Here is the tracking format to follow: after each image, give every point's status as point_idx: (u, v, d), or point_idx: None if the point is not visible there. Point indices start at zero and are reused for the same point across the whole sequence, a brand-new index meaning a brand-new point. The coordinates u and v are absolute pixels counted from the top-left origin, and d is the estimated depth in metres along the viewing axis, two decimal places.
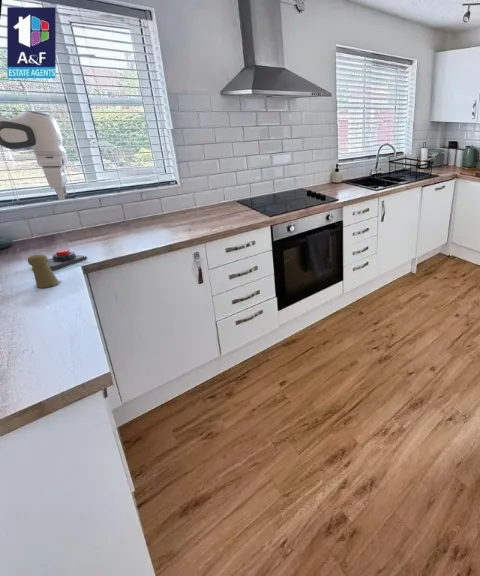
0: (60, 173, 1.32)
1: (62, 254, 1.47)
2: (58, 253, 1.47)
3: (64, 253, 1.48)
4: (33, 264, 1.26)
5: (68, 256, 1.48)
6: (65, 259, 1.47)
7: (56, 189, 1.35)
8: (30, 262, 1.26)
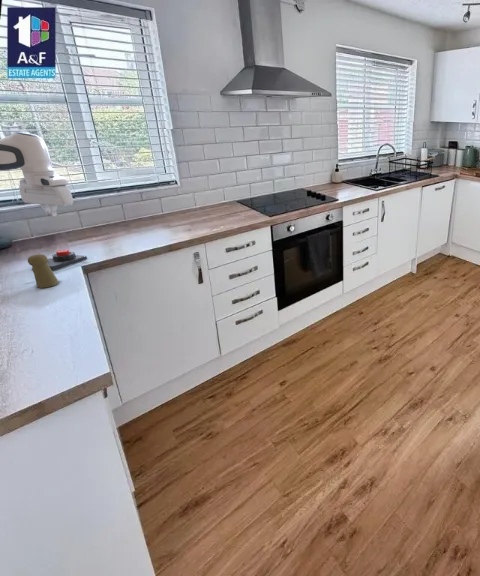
0: (70, 191, 1.40)
1: (62, 254, 1.47)
2: (58, 253, 1.47)
3: (64, 253, 1.48)
4: (33, 264, 1.26)
5: (68, 256, 1.48)
6: (65, 259, 1.47)
7: (52, 206, 1.41)
8: (30, 262, 1.26)
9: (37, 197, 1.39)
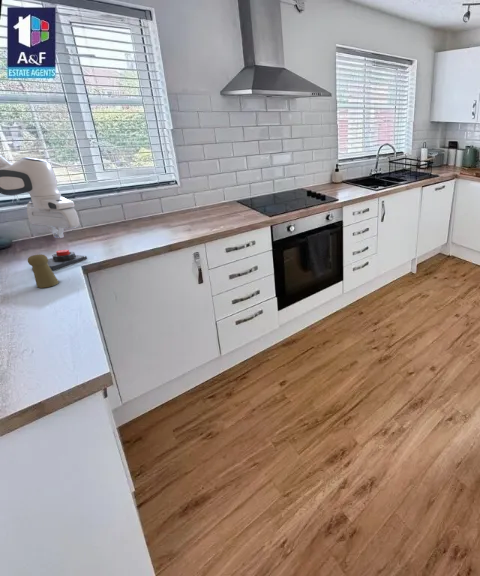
0: (76, 213, 1.43)
1: (62, 254, 1.47)
2: (58, 253, 1.47)
3: (64, 253, 1.48)
4: (33, 264, 1.26)
5: (68, 256, 1.48)
6: (65, 259, 1.47)
7: (59, 228, 1.44)
8: (30, 262, 1.26)
9: (44, 219, 1.43)
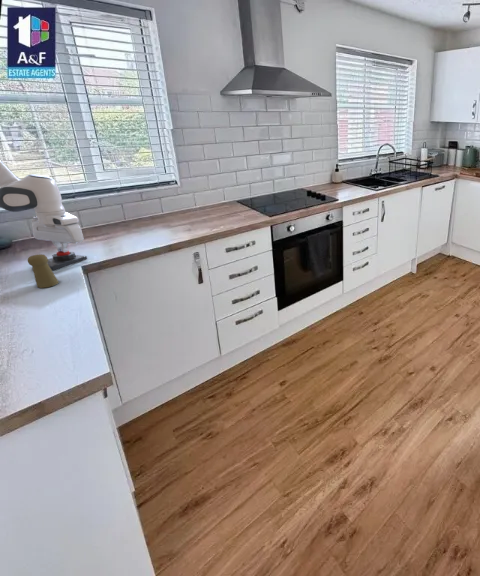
0: (80, 228, 1.45)
1: (62, 255, 1.48)
2: (58, 254, 1.47)
3: (64, 254, 1.48)
4: (33, 264, 1.26)
5: (68, 256, 1.48)
6: (65, 259, 1.47)
7: (63, 243, 1.46)
8: (30, 262, 1.26)
9: (49, 234, 1.45)
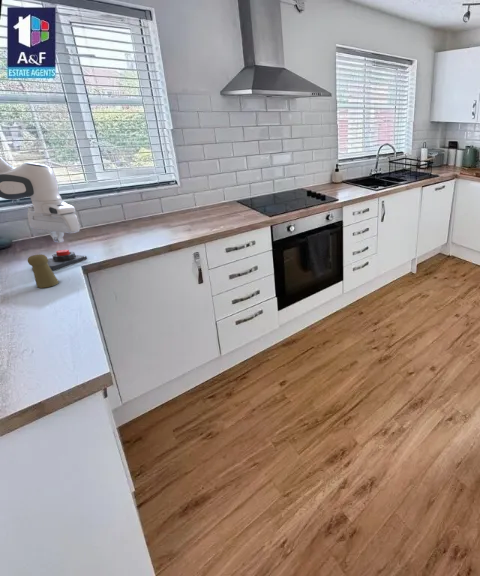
0: (77, 218, 1.44)
1: (62, 254, 1.47)
2: (58, 253, 1.47)
3: (64, 253, 1.48)
4: (33, 264, 1.26)
5: (68, 256, 1.48)
6: (65, 259, 1.47)
7: (59, 233, 1.45)
8: (30, 262, 1.26)
9: (45, 224, 1.43)
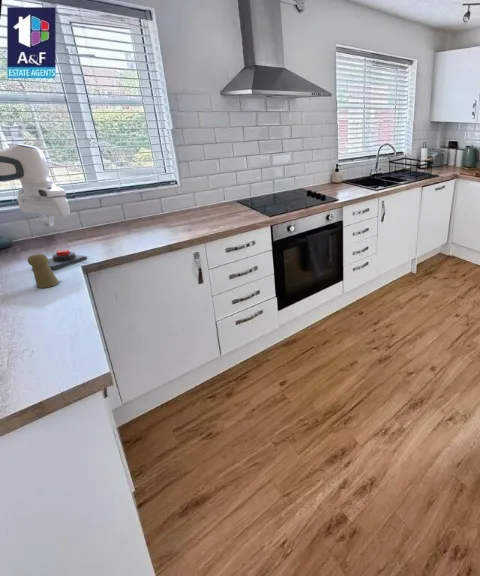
0: (67, 202, 1.42)
1: (62, 254, 1.47)
2: (58, 253, 1.47)
3: (64, 253, 1.48)
4: (33, 264, 1.26)
5: (68, 256, 1.48)
6: (65, 259, 1.47)
7: (50, 216, 1.43)
8: (30, 262, 1.26)
9: (35, 207, 1.41)
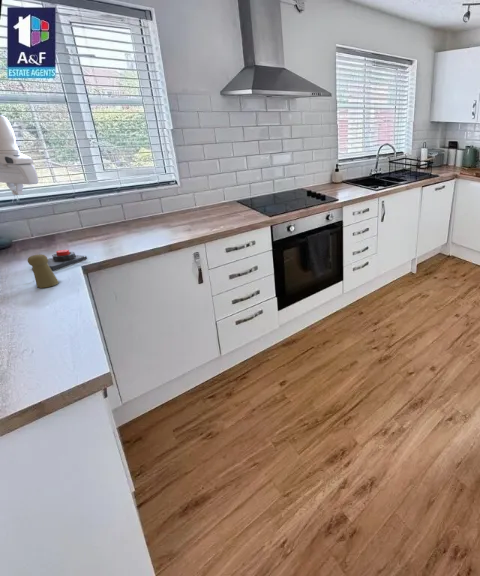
0: (35, 170, 1.43)
1: (62, 254, 1.47)
2: (58, 253, 1.47)
3: (64, 253, 1.48)
4: (33, 264, 1.26)
5: (68, 256, 1.48)
6: (65, 259, 1.47)
7: (18, 185, 1.44)
8: (30, 262, 1.26)
9: (2, 175, 1.42)
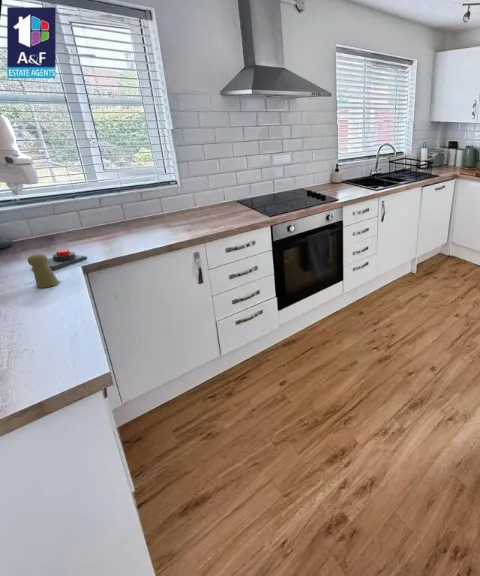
0: None
1: (62, 254, 1.47)
2: (58, 253, 1.47)
3: (64, 253, 1.48)
4: (33, 264, 1.26)
5: (68, 256, 1.48)
6: (65, 259, 1.47)
7: (18, 185, 1.44)
8: (30, 262, 1.26)
9: (2, 175, 1.42)
